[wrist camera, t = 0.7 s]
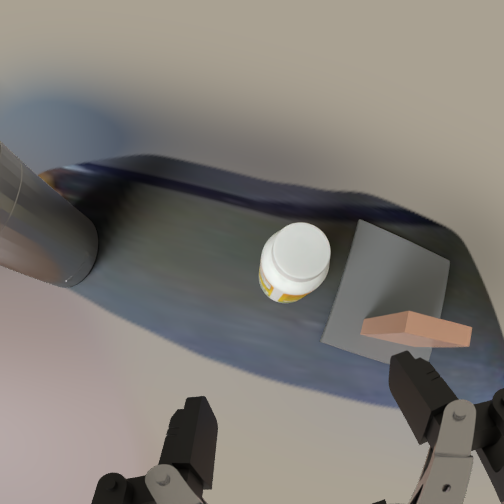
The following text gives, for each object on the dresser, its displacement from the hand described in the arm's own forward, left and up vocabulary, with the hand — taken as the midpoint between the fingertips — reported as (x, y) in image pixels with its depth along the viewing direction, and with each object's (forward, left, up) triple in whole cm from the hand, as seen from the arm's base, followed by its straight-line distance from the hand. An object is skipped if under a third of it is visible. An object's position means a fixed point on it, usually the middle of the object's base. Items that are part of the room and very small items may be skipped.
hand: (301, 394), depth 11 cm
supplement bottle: (-4, +7, -16) cm, 18 cm away
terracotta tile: (+9, +9, -15) cm, 20 cm away
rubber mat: (+7, +12, -16) cm, 21 cm away
